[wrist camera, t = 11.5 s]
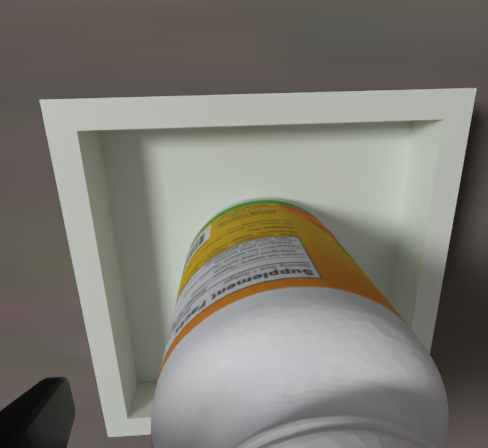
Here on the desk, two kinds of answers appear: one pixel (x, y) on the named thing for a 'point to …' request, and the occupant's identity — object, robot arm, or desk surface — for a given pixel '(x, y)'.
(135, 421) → the tray
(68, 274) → the desk surface
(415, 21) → the desk surface
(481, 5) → the desk surface
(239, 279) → the supplement bottle
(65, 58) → the desk surface
